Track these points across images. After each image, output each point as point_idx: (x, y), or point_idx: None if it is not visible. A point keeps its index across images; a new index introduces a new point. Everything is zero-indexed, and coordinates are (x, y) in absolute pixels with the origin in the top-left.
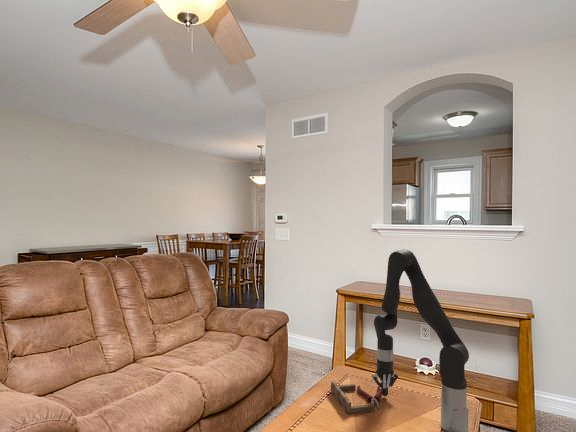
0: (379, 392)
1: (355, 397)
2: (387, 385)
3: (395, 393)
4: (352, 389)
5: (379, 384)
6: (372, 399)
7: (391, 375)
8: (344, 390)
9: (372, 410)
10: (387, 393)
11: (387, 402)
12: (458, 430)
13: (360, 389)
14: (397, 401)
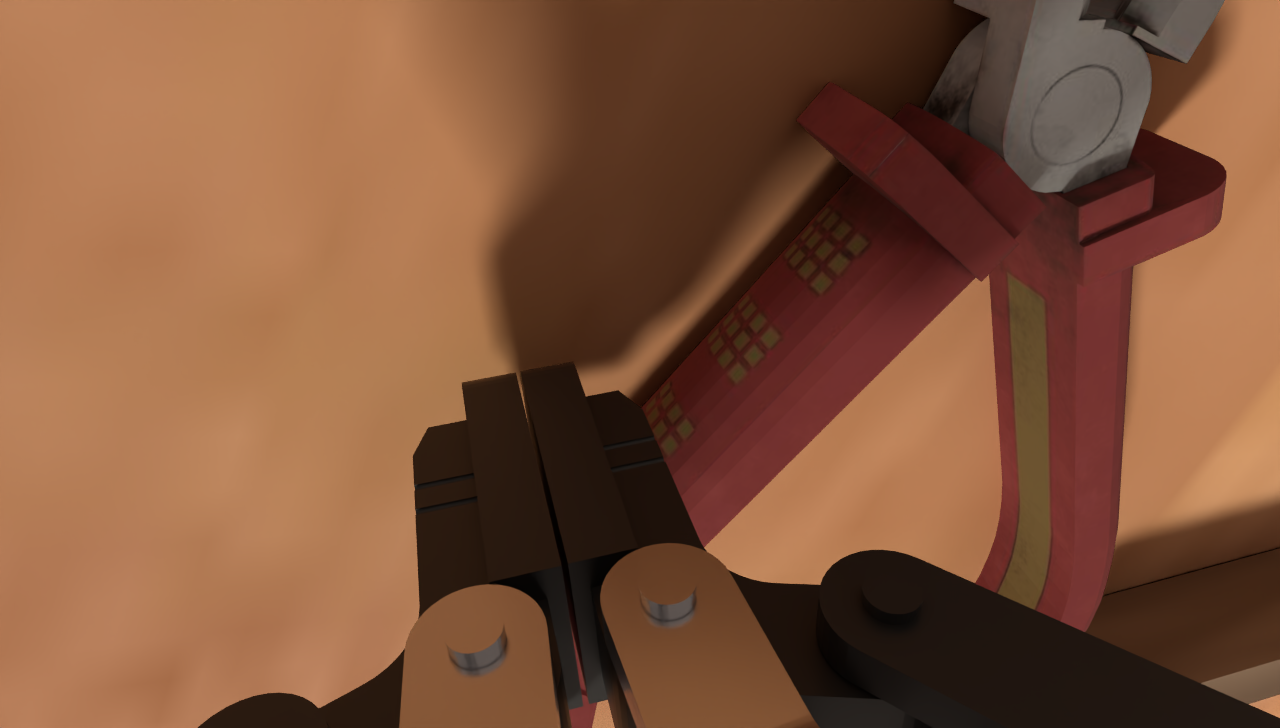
0: (688, 507)
1: (1219, 367)
2: (500, 705)
3: (75, 629)
4: (1114, 622)
5: (1013, 661)
6: (1133, 89)
7: None
8: (1262, 576)
9: None
10: (443, 454)
11: (532, 84)
12: None
13: (1094, 590)
14: (88, 141)
